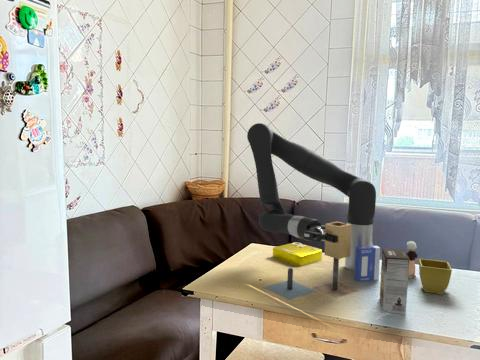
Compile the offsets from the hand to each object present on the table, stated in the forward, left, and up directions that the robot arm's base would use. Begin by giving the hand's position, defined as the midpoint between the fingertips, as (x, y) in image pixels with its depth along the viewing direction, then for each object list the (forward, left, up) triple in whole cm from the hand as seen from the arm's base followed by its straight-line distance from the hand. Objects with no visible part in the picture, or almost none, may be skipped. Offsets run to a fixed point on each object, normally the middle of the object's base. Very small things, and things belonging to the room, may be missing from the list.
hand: (342, 238), depth 129 cm
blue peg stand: (+12, -10, -17) cm, 24 cm away
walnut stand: (0, -2, -17) cm, 18 cm away
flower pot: (-26, +16, -18) cm, 35 cm away
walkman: (-16, -2, -18) cm, 24 cm away
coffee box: (-4, +16, -18) cm, 24 cm away
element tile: (-14, -34, -18) cm, 41 cm away
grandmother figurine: (-32, +4, -18) cm, 37 cm away
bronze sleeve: (0, -2, -6) cm, 6 cm away
